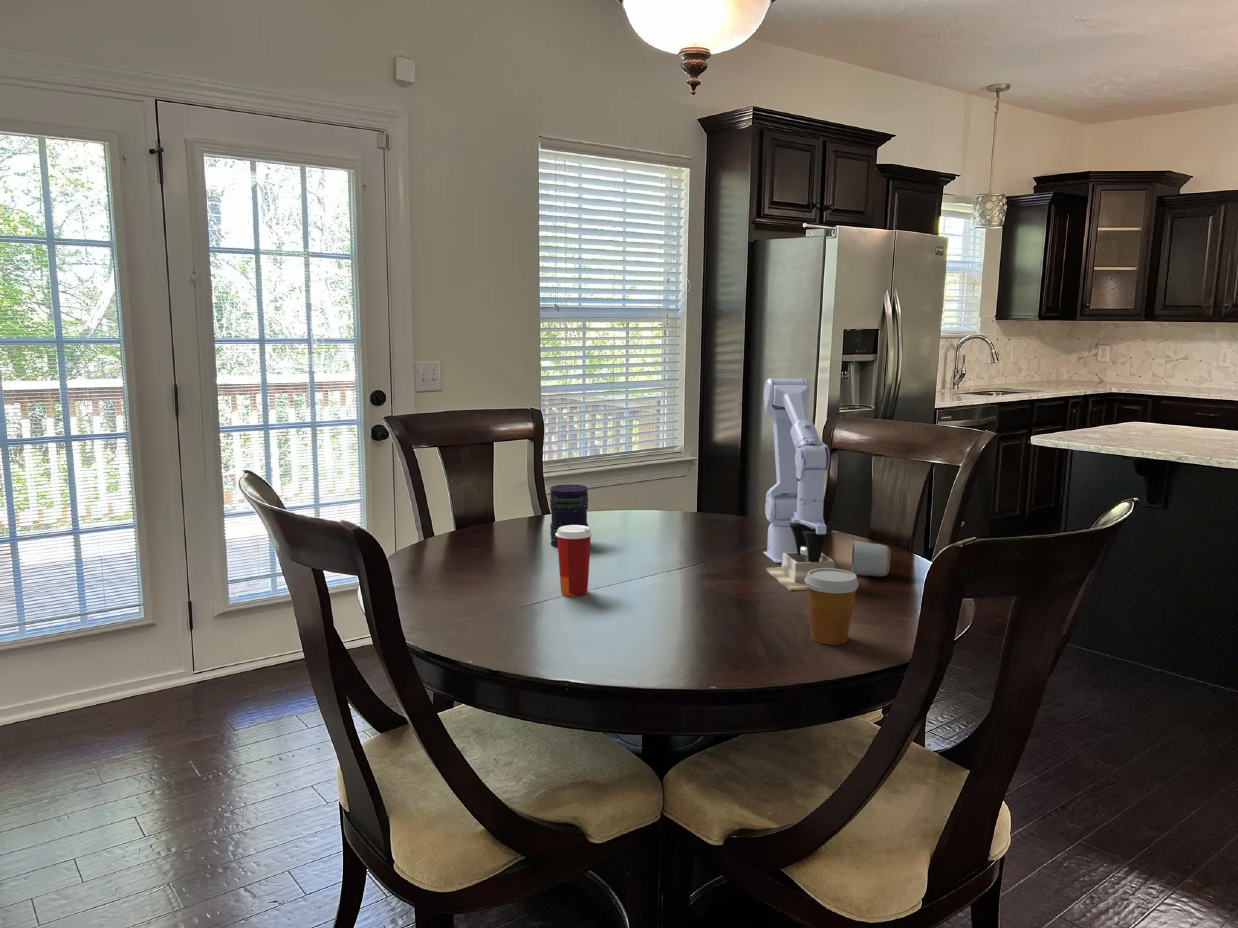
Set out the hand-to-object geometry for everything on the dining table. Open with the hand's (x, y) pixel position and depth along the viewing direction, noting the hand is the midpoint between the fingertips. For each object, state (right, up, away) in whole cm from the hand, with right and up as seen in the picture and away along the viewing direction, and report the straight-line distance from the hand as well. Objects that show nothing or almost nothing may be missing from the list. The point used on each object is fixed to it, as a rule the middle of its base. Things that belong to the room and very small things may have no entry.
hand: (808, 558), depth 193 cm
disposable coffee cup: (-4, -11, -37) cm, 39 cm away
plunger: (0, -5, +1) cm, 5 cm away
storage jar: (-55, 0, +31) cm, 64 cm away
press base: (0, -5, +1) cm, 5 cm away
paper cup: (-52, -6, -10) cm, 53 cm away
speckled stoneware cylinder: (+15, -4, +6) cm, 17 cm away
